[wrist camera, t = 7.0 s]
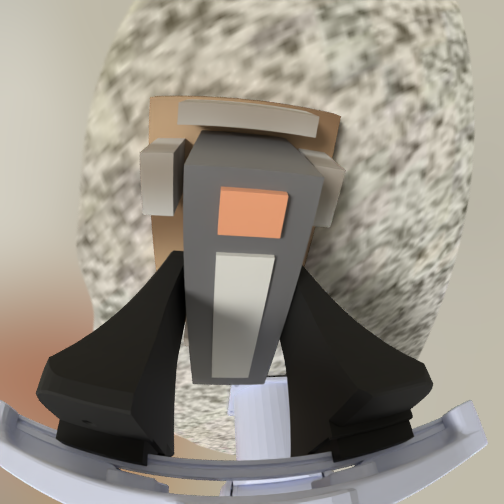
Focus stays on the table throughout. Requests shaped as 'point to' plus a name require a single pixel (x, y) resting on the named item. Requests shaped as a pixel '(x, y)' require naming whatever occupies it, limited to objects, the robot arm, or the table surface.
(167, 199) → the mounting board
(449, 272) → the table surface
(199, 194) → the grey rectangular block
